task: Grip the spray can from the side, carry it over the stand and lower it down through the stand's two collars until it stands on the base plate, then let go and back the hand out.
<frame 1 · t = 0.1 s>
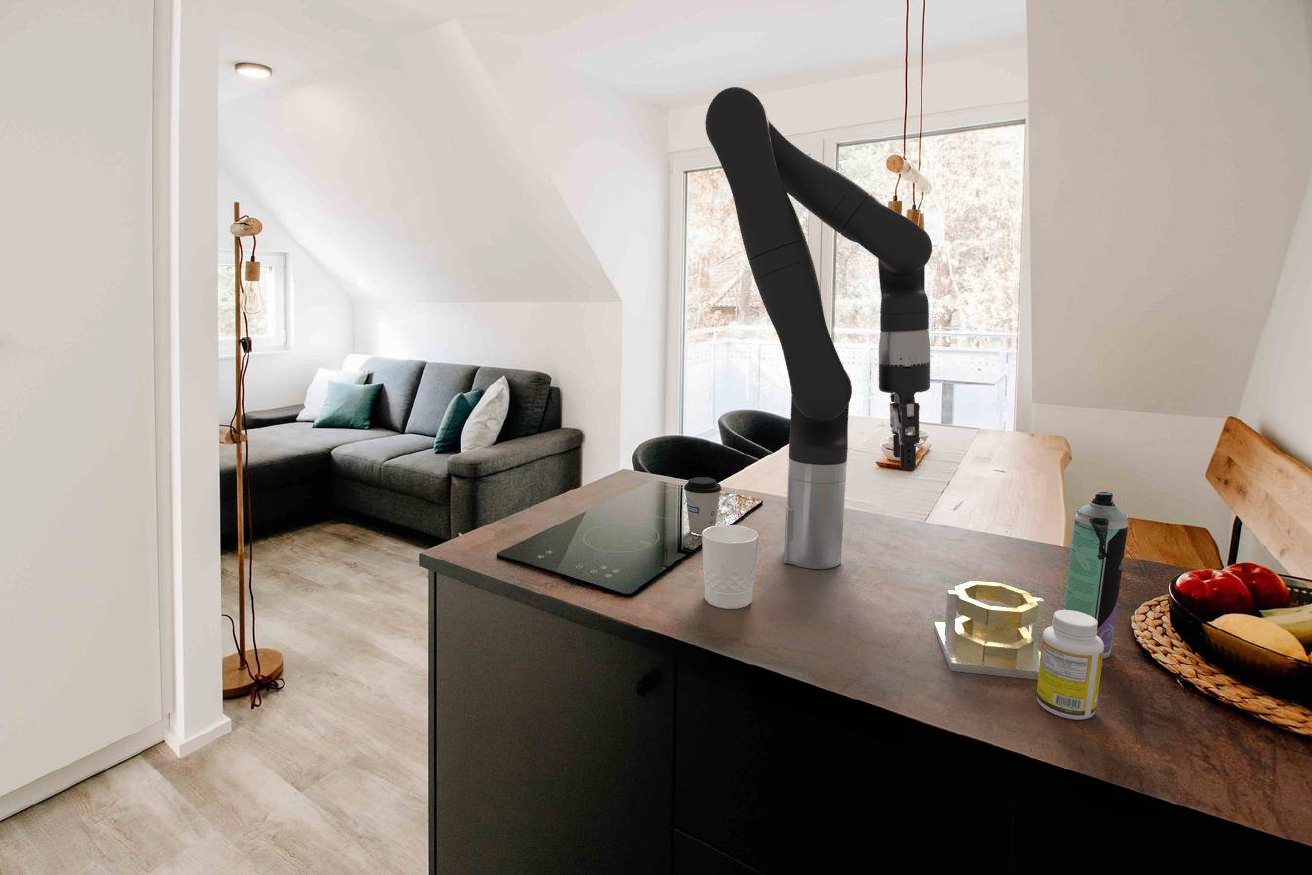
hand: (904, 462, 112), 17 cm above the counter, tool pointing down, fingers open, 8 cm apart
coffee cup: (701, 533, 132), on the counter
spray can: (1084, 649, 88), on the counter
white cup: (728, 600, 102), on the counter
collar stand: (989, 653, 87), on the counter
supplement bottle: (1064, 708, 75), on the counter
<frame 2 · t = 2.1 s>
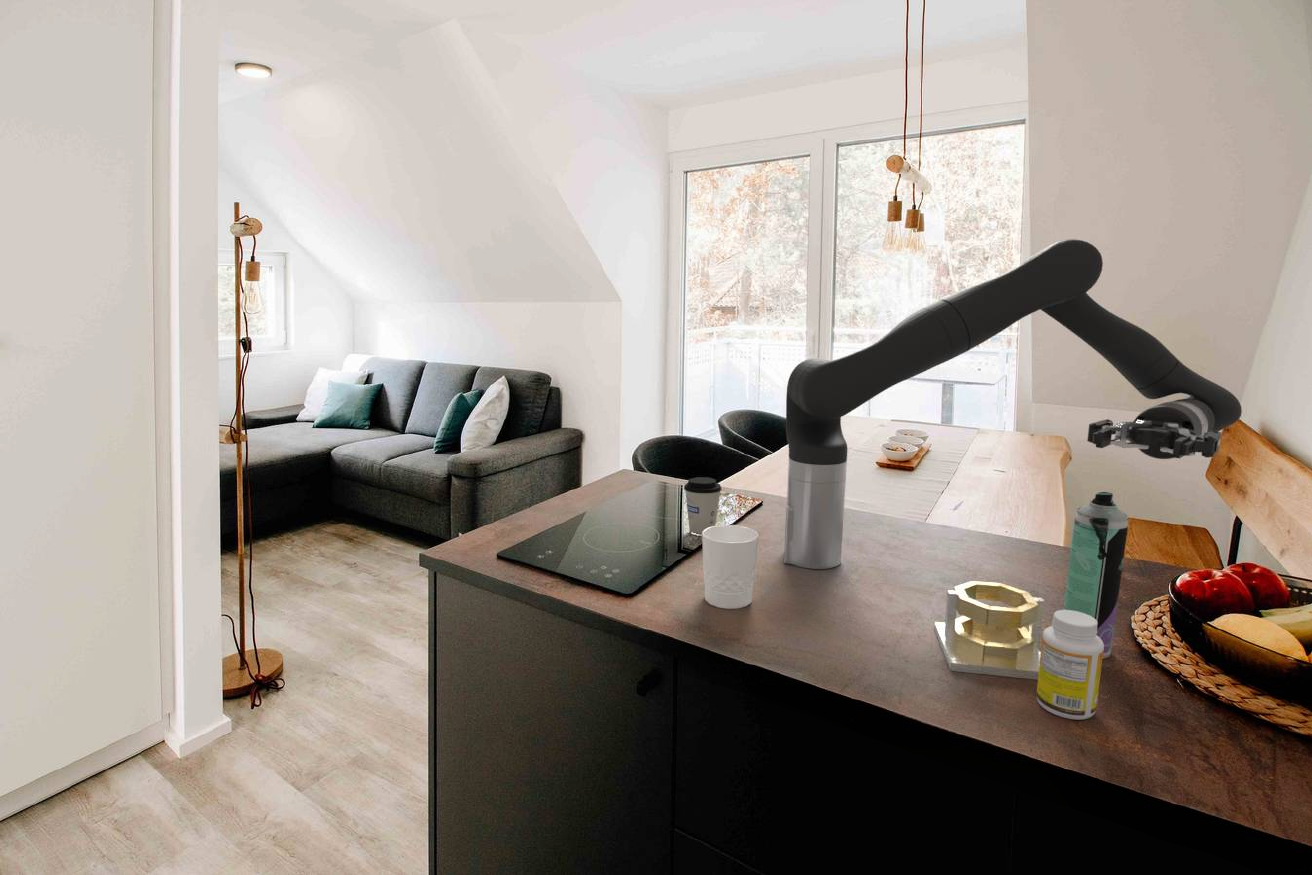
hand: (1136, 444, 91), 24 cm above the counter, tool horizontal, fingers open, 8 cm apart
nothing on the counter moved.
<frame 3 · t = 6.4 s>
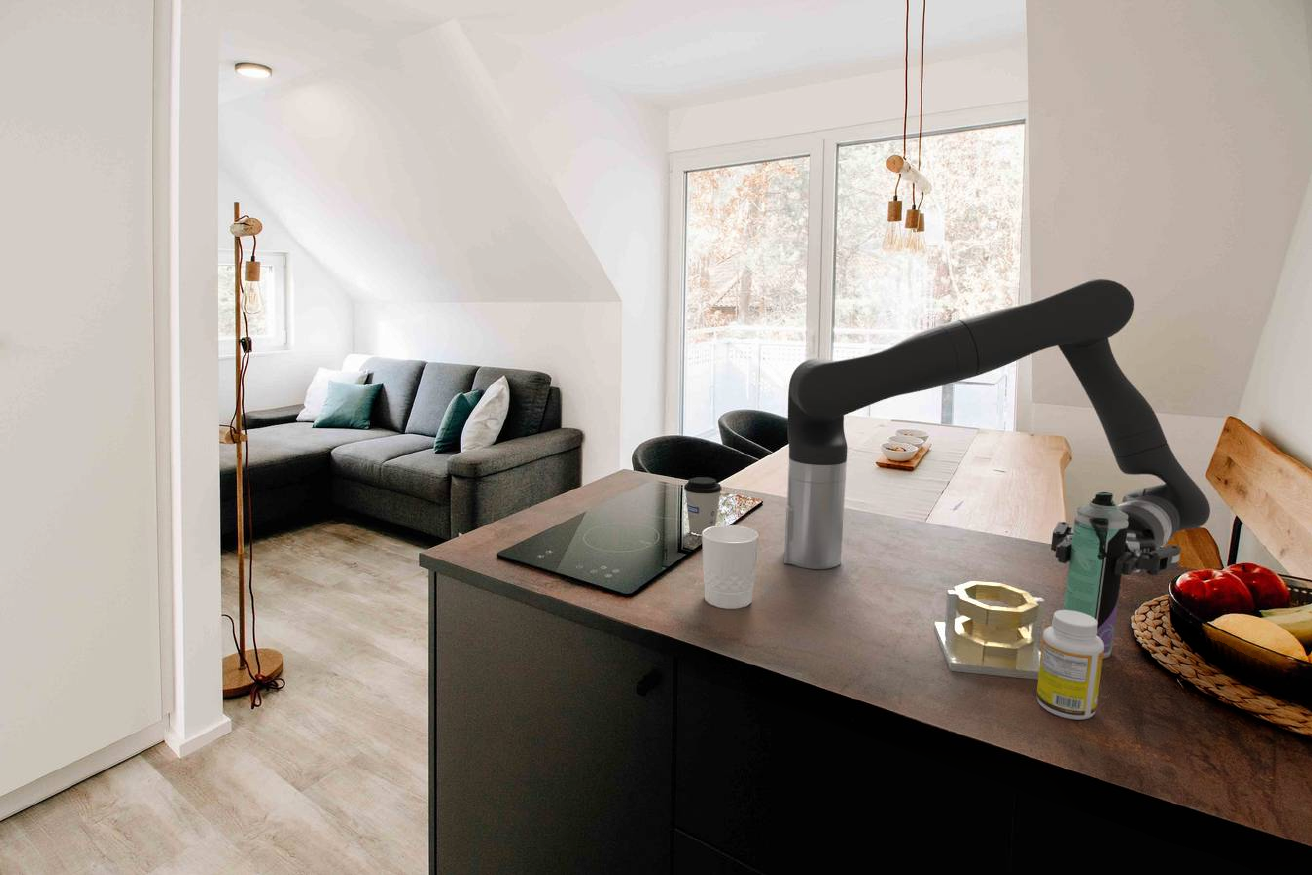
hand: (1089, 561, 84), 12 cm above the counter, tool horizontal, fingers closed on spray can, 5 cm apart
spray can: (1084, 649, 88), on the counter, touching gripper
everything else where it was.
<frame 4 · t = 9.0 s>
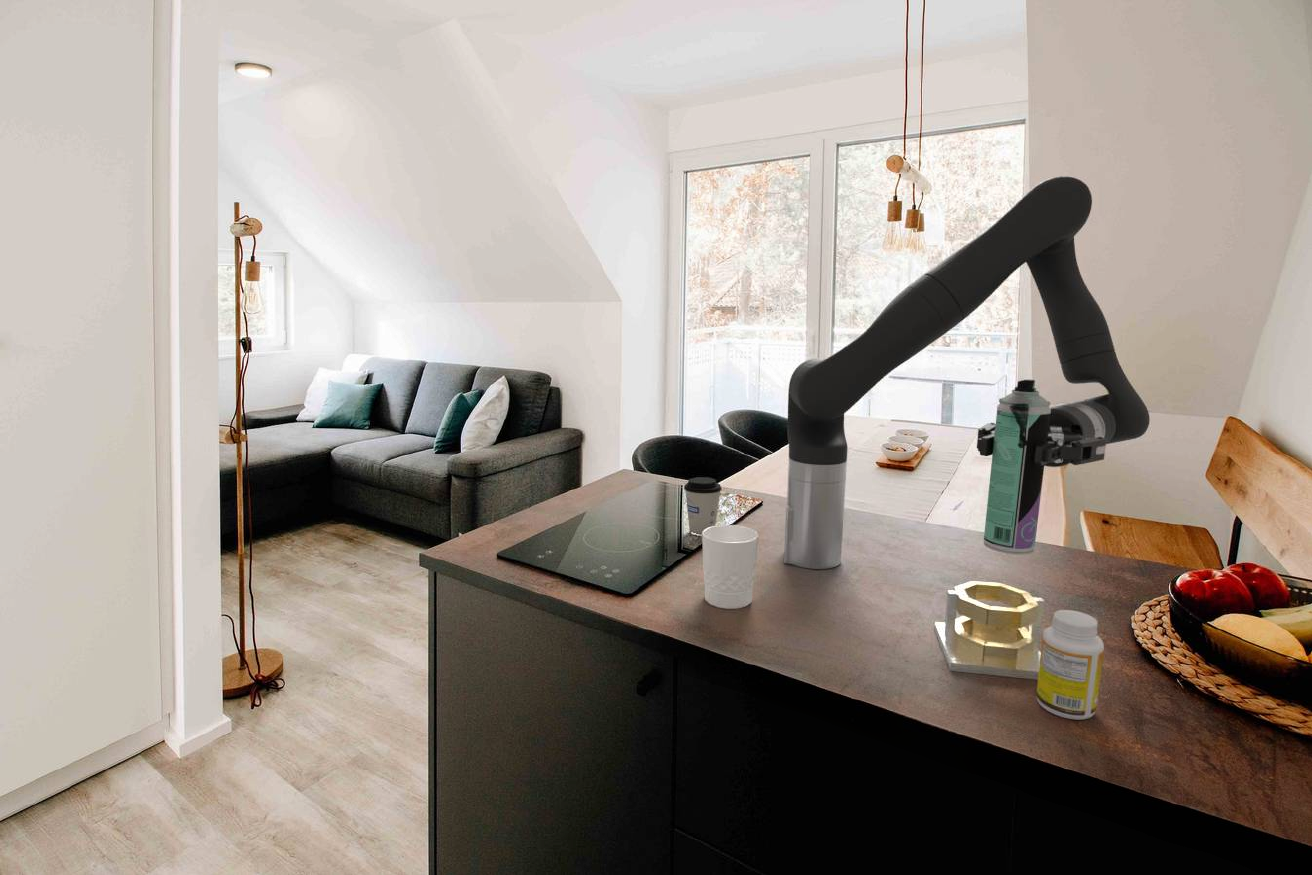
hand: (1010, 451, 81), 26 cm above the counter, tool horizontal, fingers closed on spray can, 5 cm apart
spray can: (1008, 548, 85), point 13 cm above the counter, touching gripper
everything else where it was.
when the fingers open (14 cm above the counter, at t = 11.8 s): spray can drops 1 cm, resting on collar stand.
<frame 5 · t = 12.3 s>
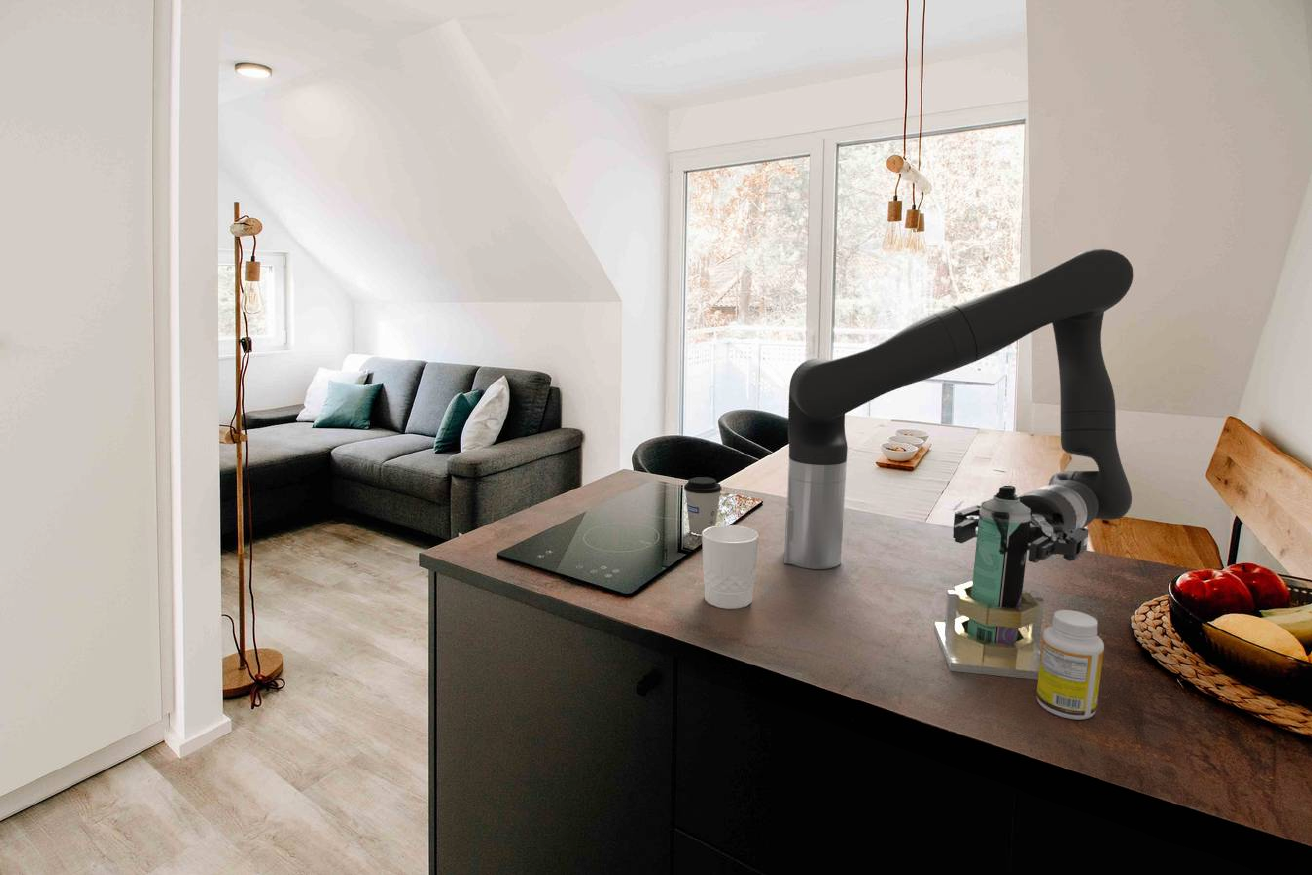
hand: (994, 543, 83), 14 cm above the counter, tool horizontal, fingers open, 8 cm apart
spray can: (990, 646, 87), point 1 cm above the counter, touching collar stand
everything else where it was.
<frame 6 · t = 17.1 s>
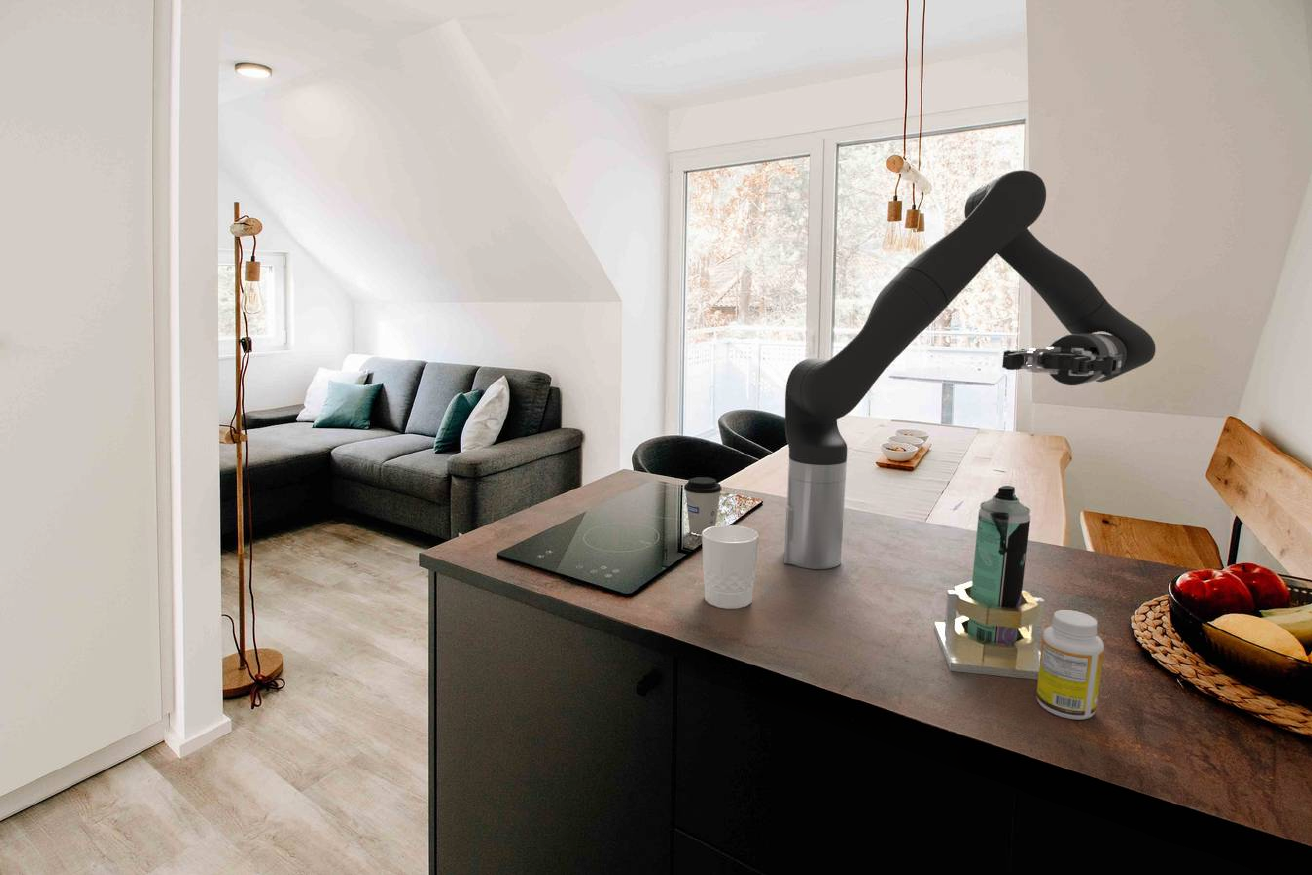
hand: (1041, 364, 97), 34 cm above the counter, tool horizontal, fingers open, 8 cm apart
nothing on the counter moved.
at the end: spray can 0.1 cm off-centre on the collar stand, point 0.8 cm above the collar stand's base; spray can tilted 0°; the gripper is holding nothing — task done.
